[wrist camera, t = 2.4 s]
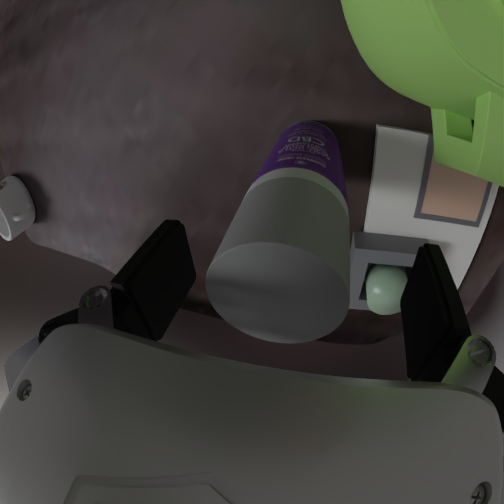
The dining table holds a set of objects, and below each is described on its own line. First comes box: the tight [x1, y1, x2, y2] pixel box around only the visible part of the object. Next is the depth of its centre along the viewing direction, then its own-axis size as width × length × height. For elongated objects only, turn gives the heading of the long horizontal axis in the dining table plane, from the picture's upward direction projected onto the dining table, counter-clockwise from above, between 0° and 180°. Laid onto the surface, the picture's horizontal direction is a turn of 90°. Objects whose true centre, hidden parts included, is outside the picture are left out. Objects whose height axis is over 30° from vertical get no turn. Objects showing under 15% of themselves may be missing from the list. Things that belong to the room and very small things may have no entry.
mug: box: [0, 176, 35, 241], centre depth 30 cm, size 12×10×6 cm
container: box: [205, 120, 350, 343], centre depth 14 cm, size 5×5×15 cm
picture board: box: [349, 124, 499, 312], centre depth 19 cm, size 16×13×3 cm
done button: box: [365, 263, 408, 315], centre depth 21 cm, size 4×4×3 cm
